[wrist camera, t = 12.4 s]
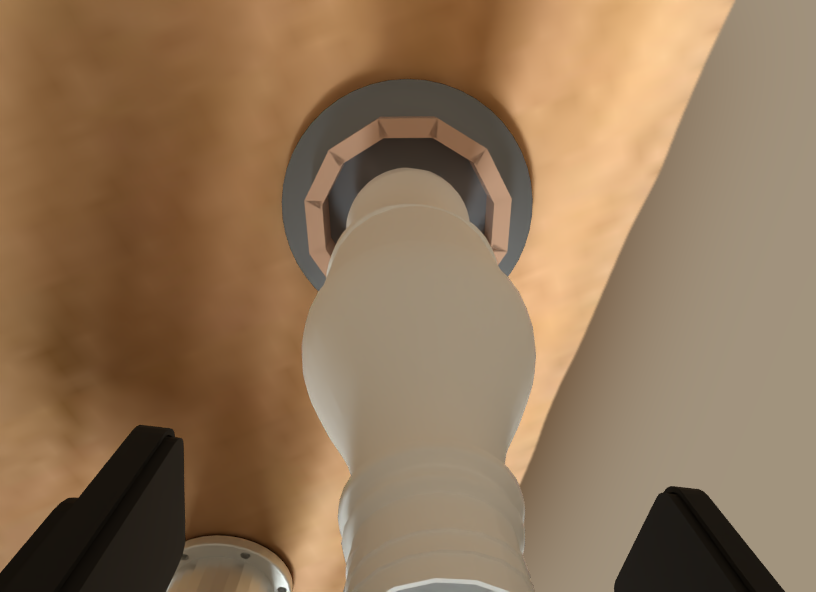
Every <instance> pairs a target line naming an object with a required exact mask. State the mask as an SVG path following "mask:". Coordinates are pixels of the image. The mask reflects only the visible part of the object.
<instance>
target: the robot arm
mask: <svg viewBox="0 0 816 592" xmlns="http://www.w3.org/2000/svg"><path fill="white" fill-rule="evenodd" d="M292 588H293V583H292V577H291V574H290V572H289V570H288V568H287V567H286V565H285V564H284V562H283V561H282V560H281V559H280V558H279V557H278V556H277V555H276V554H274V553H273V552H271V551H270V550H269V549H267V548H266V547H263V546H261V545H259V544H257V543H255V542H252V541H249V540H246V539H243V538H238V537H232V536H220V535H214V536H203V537H199V538H194V539H190V540H188V541H185V499H184V445H183V440H182V438H176V437H175V434H174V431H173V429H170V428H162V427H153V426H145V425H139V426H137V427H136V428H135V429H134V430H133V431H132V432H131V433H130V434H129V436H128V437H127V438H126V439H125V441H124V442H123V443H122V444H121V446H120V447H119V448H118V449H117V450H116V452H115V453H114V454H113V455H112V457H111V458H110V459H109V460H108V462H107V463H106V464H105V465H104V467H103V468H102V469H101V470H100V472H99V473H98V474H97V475H96V477H95V478H94V479H93V480H92V482H91V483H90V484H89V485H88V487H87V488H86V489H85V490H84V492H83V493H82V494H81V495H80V497H79V498H68V499H66V500H64V501H63V502H61V503H60V504H59V505H58V506H57V507H56V508H55V509H54V510H53V511H52V512H51V513H50V515H49V516H48V517H47V518H46V519H45V520H44V522H43V523H42V524H41V525H40V526H39V528H38V529H37V530H36V531H35V532H34V534H33V535H32V536H31V537H30V538H29V540H28V541H27V542H26V543H25V544H24V545H23V547H22V548H21V549H20V550H19V551H18V553H17V554H16V555H15V556H14V557H13V559H12V560H11V561H10V562H9V563H8V565H7V566H6V567H5V568H4V569H3V570H2V572H1V573H0V592H292ZM614 592H785V591H784V590H783V589H782V588H781V586H780V585H779V584H778V582H777V581H776V580H775V579H774V578H773V576H772V575H771V574H770V573H769V571H768V570H767V569H766V567H765V566H764V565H763V564H762V563H761V561H760V560H759V559H758V558H757V556H756V555H755V554H754V553H753V551H752V550H751V549H750V548H749V546H748V545H747V544H746V543H745V541H744V540H743V539H742V538H741V536H740V535H739V534H738V533H737V531H736V530H735V529H734V528H733V526H732V525H731V524H730V523H729V521H728V520H727V519H726V518H725V516H724V515H723V514H722V513H721V511H720V510H719V509H718V508H717V506H716V505H715V504H714V503H713V501H712V500H711V499H710V498H709V496H708V495H707V494H706V493H705V492H703V491H701V490H699V489H691V488H683V487H675V486H670V487H668V488H667V489H666V490H665V491H664V492H663V493H660V494H659V495H658V496H657V498H656V500H655V502H654V504H653V506H652V508H651V510H650V512H649V514H648V516H647V518H646V520H645V522H644V524H643V526H642V528H641V530H640V532H639V534H638V536H637V538H636V540H635V542H634V544H633V546H632V548H631V550H630V553H629V554H628V556H627V558H626V561H625V562H624V565H623V567H622V569H621V571H620V573H619V575H618V577H617V579H616V581H615V585H614Z"/></svg>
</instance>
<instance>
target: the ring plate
mask: <svg viewBox="0 0 816 592" xmlns="http://www.w3.org/2000/svg"><path fill="white" fill-rule="evenodd" d="M397 168H414V169H421V170H426V171H430V172H432V173H434V174H436V175H438V176H440V177H441V178H443V179H444V180H445V181H447V182H448V183H449V184H450V185H451V186H452V187H453V188H454V189H455V190H456V191H457V192H458V194H459V195H460V197H461V198H462V200H463V202H464V204H465V206H466V209H467V212H468V215H469V221H470V222H471V223H472V224H474V225H475V226H476V227H477V228H478V229H479V230H480V231H481V232H482V234H483V235H484V236H485V237H486V239H487V241H488V242H489V244H490V246H491V248H492V250H493V252H494V255H495V257H496V261H497V265H498V266H499V268H500V270H501V271H502V272H503V273H504V274H506V275H507V276H509V274H510V273H511V271H512V270H513V268H514V267H515V265H516V263H517V262H518V260H519V258H520V255H521V253H522V251H523V249H524V246H525V243H526V240H527V237H528V233H529V229H530V223H531V218H532V189H531V181H530V177H529V173H528V168H527V165H526V162H525V160H524V157H523V155H522V152H521V150H520V148H519V146H518V144H517V143H516V141H515V139H514V137H513V136H512V134H511V133H510V132H509V130H508V129H507V128H506V126H505V125H504V124H503V122H502V121H501V120H500V119H499V118H498V117H497V116H496V115H495V114H494V113H493V112H492V111H491V110H490V109H488V108H487V107H486V106H484V105H483V104H482V103H480V102H479V101H478V100H476V99H475V98H473V97H471V96H469V95H468V94H466V93H464V92H462V91H460V90H458V89H455V88H452V87H450V86H447V85H444V84H441V83H436V82H431V81H427V80H415V79H400V80H388V81H384V82H379V83H375V84H371V85H368V86H365V87H363V88H360V89H358V90H355V91H353V92H351V93H349V94H348V95H346V96H344V97H342V98H340V99H339V100H337V101H336V102H335V103H333V104H332V105H331V106H329V107H328V108H327V109H325V110H324V111H323V112H322V113H321V114H320V115H319V116H318V117H317V118H316V119H315V120H314V121H313V122H312V123H311V125H310V126H309V127H308V129H307V130H306V131H305V133H304V134H303V136H302V137H301V139H300V140H299V142H298V144H297V146H296V148H295V150H294V152H293V154H292V156H291V159H290V162H289V164H288V167H287V170H286V175H285V179H284V184H283V194H282V215H283V223H284V228H285V233H286V237H287V240H288V243H289V246H290V249H291V251H292V253H293V255H294V258H295V260H296V262H297V264H298V265H299V267H300V268H301V270H302V272H303V273H304V275H305V276H306V277H307V279H308V280H309V281H310V282H311V284H312V285H313V286H314V287H315V288H316V289H317V290H318V291H319V290H320V289H321V288H322V286H323V285H324V283H325V280H326V274H327V268H328V264H329V260H330V258H331V255H332V252H333V250H334V247H335V245H336V243H337V241H338V239H339V238H340V236H341V235H342V233H343V232H344V231H345V230H346V222H347V217H348V213H349V211H350V208H351V205H352V203H353V201H354V199H355V198H356V196H357V195H358V193H359V192H360V191H361V190H362V189H363V188H364V186H365V185H366V184H367V183H368V182H370V181H371V180H372V179H374V178H375V177H376V176H378V175H380V174H382V173H384V172H386V171H390V170H394V169H397Z"/></svg>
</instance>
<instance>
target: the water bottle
mask: <svg viewBox="0 0 816 592" xmlns="http://www.w3.org/2000/svg"><path fill="white" fill-rule="evenodd" d="M535 361H536V352H535V342H534V334H533V326H532V323H531V320H530V317H529V314H528V311H527V308H526V306H525V304H524V302H523V300H522V298H521V295H520V293H519V291H518V290H517V289H516V287H515V286H514V285H513V283H512V282H511V280H510V279H509V278H508V276H507V275H506V274H504V273H503V272H502V271H501V270H500V268H499V266H498V265H497V261H496V257H495V255H494V252H493V250H492V248H491V246H490V244H489V242H488V241H487V239H486V237H485V236H484V235H483V234H482V232H481V231H480V230H479V229H478V228H477V227H476V226H475V225H474V224H472V223H471V222H470V221H469V215H468V212H467V209H466V206H465V204H464V202H463V200H462V198H461V197H460V195H459V194H458V192H457V191H456V190H455V189H454V188H453V187H452V186H451V185H450V184H449V183H448V182H447V181H445V180H444V179H443V178H441V177H440V176H438V175H436V174H434V173H432V172H430V171H426V170H421V169H414V168H397V169H394V170H390V171H386V172H384V173H382V174H380V175H378V176H376V177H375V178H374V179H372V180H371V181H370V182H368V183H367V184H366V185H365V186H364V188H363V189H362V190H361V191H360V192H359V193H358V195H357V196H356V198H355V199H354V201H353V203H352V205H351V208H350V211H349V213H348V217H347V222H346V230H345V231H344V232H343V233H342V235H341V236H340V238H339V239H338V241H337V243H336V245H335V247H334V250H333V252H332V255H331V258H330V260H329V264H328V268H327V274H326V280H325V283H324V285H323V286H322V288H321V289H320V290H319V291H318V293H317V295H316V297H315V299H314V301H313V303H312V305H311V307H310V309H309V313H308V316H307V320H306V323H305V327H304V334H303V340H302V364H303V376H304V380H305V384H306V387H307V391H308V394H309V397H310V400H311V403H312V405H313V407H314V409H315V411H316V413H317V415H318V417H319V419H320V421H321V423H322V425H323V427H324V429H325V430H326V432H327V434H328V436H329V438H330V439H331V441H332V442H333V444H334V445H335V447H336V448H337V450H338V451H339V453H340V454H341V456H342V457H343V459H344V460H345V462H346V464H347V466H348V468H349V471H350V474H351V477H350V478H349V480H348V482H347V483H346V485H345V487H344V489H343V492H342V495H341V498H340V502H339V510H338V522H339V529H340V533H341V536H342V543H341V544H342V548H343V553H344V558H345V562H346V583H345V587H344V591H343V592H535V590H534V586H533V584H532V582H531V581H530V573H529V570H528V567H527V564H526V562H525V559H524V557H523V552H524V546H525V527H524V517H525V505H524V500H523V495H522V491H521V489H520V486H519V484H518V482H517V479H516V478H515V476H514V475H513V474H512V472H511V471H510V470H509V468H508V467H507V466H506V465H505V458H506V453H507V450H508V448H509V446H510V443H511V441H512V439H513V437H514V435H515V433H516V430H517V428H518V426H519V423H520V421H521V418H522V415H523V412H524V410H525V407H526V404H527V401H528V398H529V395H530V392H531V388H532V385H533V379H534V372H535Z"/></svg>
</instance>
